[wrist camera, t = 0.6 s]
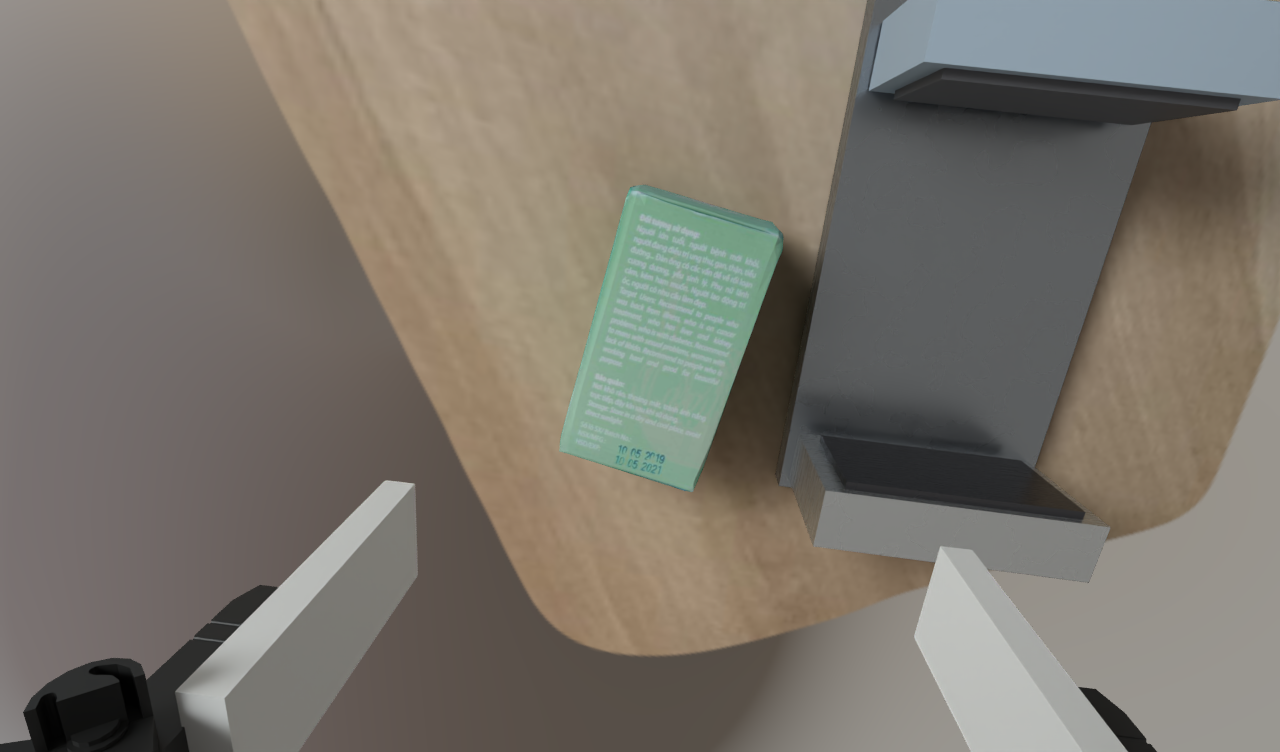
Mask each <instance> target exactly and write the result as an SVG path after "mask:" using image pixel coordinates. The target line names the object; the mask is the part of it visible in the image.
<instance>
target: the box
mask: <svg viewBox="0 0 1280 752" xmlns="http://www.w3.org/2000/svg"><path fill="white" fill-rule="evenodd" d="M782 250H783V234H782V233H781V232H780V231H779V230H778V228H777V227H776V226H775V225H774V224H773V223H772V222H769V221H765V220H761V219H758V218H754V217H751V216H748V215H744V214H741V213H738V212H734V211H731V210H728V209H724V208H721V207H718V206H714V205H711V204H708V203H704V202H701V201H698V200H694V199H691V198H688V197H684V196H681V195H678V194H675V193H671V192H668V191H664V190H661V189H658V188H654V187H651V186H648V185H639V186H633V187H630V190H629V192H628V195H627V198H626V201H625V204H624V208H623V211H622V215H621V219H620V222H619V226H618V230H617V233H616V237H615V241H614V244H613V248H612V252H611V255H610V259H609V263H608V266H607V270H606V274H605V277H604V281H603V284H602V288H601V292H600V296H599V299H598V303H597V307H596V310H595V314H594V318H593V321H592V325H591V329H590V332H589V336H588V340H587V343H586V347H585V351H584V354H583V358H582V362H581V365H580V369H579V372H578V376H577V380H576V383H575V387H574V390H573V394H572V397H571V401H570V405H569V408H568V412H567V416H566V419H565V423H564V427H563V431H562V434H561V440H560V450H559V451H561V452H564V453H567V454H570V455H574V456H577V457H580V458H583V459H586V460H589V461H593V462H596V463H599V464H602V465H605V466H608V467H612V468H615V469H618V470H621V471H624V472H627V473H631V474H634V475H637V476H640V477H643V478H647V479H650V480H653V481H656V482H659V483H662V484H666V485H669V486H672V487H675V488H678V489H681V490H684V491H689V492H693V490H694V488H695V486H696V483H697V481H698V479H699V476H700V474H701V472H702V470H703V467H704V464H705V462H706V459H707V456H708V453H709V450H710V447H711V445H712V442H713V439H714V436H715V433H716V431H717V428H718V425H719V422H720V419H721V417H722V414H723V411H724V408H725V405H726V403H727V400H728V397H729V394H730V391H731V389H732V386H733V383H734V380H735V377H736V374H737V372H738V369H739V366H740V363H741V360H742V358H743V355H744V352H745V349H746V346H747V344H748V341H749V338H750V336H751V333H752V330H753V327H754V324H755V322H756V319H757V316H758V313H759V310H760V308H761V305H762V302H763V299H764V296H765V294H766V291H767V288H768V286H769V283H770V280H771V277H772V275H773V272H774V269H775V267H776V264H777V262H778V259H779V257H780V255H781V253H782Z"/></svg>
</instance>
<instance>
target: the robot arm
mask: <svg viewBox="0 0 1280 752" xmlns="http://www.w3.org/2000/svg"><path fill="white" fill-rule="evenodd" d="M417 567H418V566H417V534H416V501H415V484H412V483H404V482H395V481H387V480H385V481H384V482H383V483H382V484H381V485H380V486H379V487H378V488H377V489H376V490H375V491H374V492H373V493H372V494H371V495H370V496H369V497H368V498H367V499H366V500H365V501H364V502H363V503H362V505H360V506H359V507H358V508H357V509H356V510H355V511H354V512H353V513H352V514H351V515H350V516H349V517H348V518H347V519H346V520H345V521H344V522H343V523H342V524H341V525H340V526H339V527H338V528H337V530H336V531H334V532H333V533H332V535H330V536H329V537H328V539H326V540H325V541H324V542H323V544H321V545H320V546H319V547H318V549H316V550H315V551H314V552H313V554H312V555H311V556H310V557H308V558H307V559H306V560H305V562H304V563H303V564H301V565H300V567H299V568H298V569H297V570H296V571H295V572H294V573H293V574H292V575H291V576H290V577H289V578H288V579H287V580H286V581H285V582H284V583H283V584H282V585H281V586H280V587H272V586H263V585H259V586H257V587H255V588H254V589H252V590H250V591H248V592H246V593H245V594H243V595H241V596H239V597H237V598H236V599H234V600H233V601H231V602H230V603H229V604H228V605H227V606H226V607H225V608H224V609H223V610H221V612H219V613H218V614H217V615H216V616H215V617H214V618H213V619H212V621H211V623H210V624H206V625H205V626H204V627H203V628H202V629H201V630H200V631H199V632H198V633H197V634H196V635H195V636H194V639H193V640H189V641H188V642H187V643H186V644H185V645H184V646H183V647H182V648H181V649H180V650H178V651H177V652H176V653H175V654H174V655H173V656H172V657H171V658H170V659H169V660H168V661H167V662H166V663H165V664H163V665H162V666H161V667H160V668H159V669H158V670H157V671H156V672H155V673H154V674H153V675H152V676H150V678H148V679H147V680H146V678H145V674H144V671H143V668H142V666H141V664H139V663H137V662H135V661H133V660H131V659H123V658H121V659H120V658H110V659H105V660H101V661H96V662H91V663H88V664H85V665H83V666H80V667H78V668H75V669H73V670H70V671H68V672H66V673H64V674H63V675H61V676H59V677H58V678H56V679H54V680H53V681H51V682H49V683H47V684H46V685H45V686H44V687H43V688H42V689H41V690H40V691H39V692H38V693H36V694H35V695H34V696H33V697H32V698H31V700H30V702H29V703H28V705H27V707H26V709H25V710H24V712H23V713H24V717H25V720H26V723H27V726H28V730H29V733H30V736H31V740H25V741H18V742H11V743H4V744H0V752H299V750H300V749H301V747H302V746H303V744H304V743H305V741H306V740H307V738H308V737H309V735H310V734H311V732H312V731H313V729H314V728H315V726H316V725H317V724H318V722H319V720H320V719H321V718H322V716H323V715H324V713H325V712H326V710H327V709H328V707H329V706H330V704H331V703H332V701H333V700H334V698H335V697H336V695H337V694H338V692H339V691H340V689H341V688H342V687H343V685H344V684H345V682H346V681H347V679H348V678H349V676H350V675H351V673H352V672H353V670H354V669H355V667H356V666H357V664H358V663H359V661H360V660H361V658H362V657H363V656H364V654H365V653H366V651H367V650H368V648H369V646H370V645H371V644H372V642H373V641H374V639H375V638H376V636H377V635H378V633H379V632H380V630H381V629H382V627H383V626H384V624H385V623H386V622H387V620H388V618H389V617H390V615H391V614H392V613H393V611H394V610H395V608H396V607H397V605H398V604H399V602H400V601H401V599H402V598H403V596H404V595H405V593H406V592H407V590H408V589H409V587H410V586H411V585H412V583H413V582H414V580H415V579H416V577H417V576H418V568H417ZM914 638H915V640H916V642H917V644H918V646H919V648H920V650H921V652H922V654H923V657H924V658H925V660H926V663H927V665H928V667H929V668H930V671H931V673H932V675H933V677H934V679H935V681H936V683H937V685H938V687H939V688H940V690H941V693H942V695H943V697H944V699H945V701H946V702H947V705H948V707H949V709H950V711H951V713H952V715H953V717H954V719H955V721H956V723H957V725H958V727H959V729H960V731H961V733H962V735H963V737H964V739H965V741H966V743H967V745H968V747H969V749H970V751H971V752H1157V751H1156V750H1155V749H1154V748H1153V747H1152V745H1151V744H1147V743H1146V738H1145V737H1144V736H1143V734H1142V733H1141V732H1140V731H1139V730H1138V728H1137V727H1136V726H1135V725H1134V723H1133V722H1132V721H1131V720H1130V719H1129V717H1128V716H1127V715H1126V714H1125V713H1124V712H1123V711H1122V710H1121V709H1119V708H1118V707H1117V706H1116V705H1114V704H1113V703H1112V702H1111V701H1110V700H1108V699H1107V698H1106V697H1105V696H1103V695H1102V694H1101V693H1100V692H1098V691H1097V690H1096V689H1090V688H1082V687H1077V685H1076V684H1075V683H1074V681H1073V680H1072V679H1071V677H1070V676H1069V675H1068V673H1067V672H1066V671H1065V670H1064V668H1063V667H1062V666H1061V664H1060V663H1059V662H1058V660H1057V659H1056V658H1055V657H1054V655H1053V654H1052V653H1051V651H1050V650H1049V649H1048V648H1047V646H1046V645H1045V644H1044V643H1043V641H1042V640H1041V639H1040V637H1039V636H1038V635H1037V633H1036V632H1035V631H1034V629H1033V628H1032V627H1031V626H1030V624H1029V623H1028V622H1027V620H1026V619H1025V618H1024V616H1023V615H1022V614H1021V613H1020V611H1019V610H1018V609H1017V607H1016V606H1015V605H1014V604H1013V602H1012V601H1011V600H1010V598H1009V597H1008V596H1007V594H1006V593H1005V592H1004V591H1003V589H1002V588H1001V587H1000V585H999V584H998V583H997V582H996V580H995V579H994V578H993V576H992V575H991V574H990V572H989V571H988V570H987V568H986V567H985V566H984V565H983V563H982V562H981V561H980V559H979V558H978V557H977V555H976V554H975V553H974V552H973V550H969V549H961V548H952V547H944V546H940V549H939V552H938V556H937V559H936V563H935V566H934V570H933V573H932V576H931V580H930V583H929V587H928V591H927V594H926V597H925V601H924V604H923V607H922V611H921V614H920V618H919V621H918V625H917V628H916V632H915V635H914Z"/></svg>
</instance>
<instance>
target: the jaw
mask: <svg viewBox="0 0 1280 752" xmlns="http://www.w3.org/2000/svg"><path fill="white" fill-rule="evenodd" d="M869 91H874V92H883V93H893V94H894V98H893V100H899V101H909V102H918V103H927V104H937V105H946V106H955V107H965V108H974V109H984V110H993V111H1002V112H1012V113H1021V114H1030V115H1040V116H1049V117H1059V118H1068V119H1077V120H1087V121H1096V122H1105V123H1115V124H1124V125H1137V124H1144V123H1151V122H1158V121H1165V120H1172V119H1179V118H1186V117H1193V116H1200V115H1207V114H1214V113H1221V112H1228V111H1235V110H1237V109H1238V106H1242V105H1249V104H1255V103H1262V102H1269V101H1275V100H1280V2H1278V1H1267V0H907V1H906V2H905V3H904V4H902V5H901V6H900V7H899V8H898V9H897V10H895V11H894V12H893V13H892V14H891V15H889V16H888V17H887V18H886V19H885V20H883V23H882V28H881V33H880V38H879V43H878V48H877V53H876V58H875V63H874V68H873V72H872V77H871V82H870V87H869Z"/></svg>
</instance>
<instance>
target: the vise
mask: <svg viewBox="0 0 1280 752" xmlns="http://www.w3.org/2000/svg"><path fill="white" fill-rule="evenodd" d="M906 1H907V0H868V1H867V6H866V11H865V16H864V21H863V26H862V31H861V37H860V42H859V47H858V52H857V57H856V62H855V67H854V72H853V78H852V83H851V88H850V93H849V98H848V103H847V108H846V114H845V119H844V124H843V129H842V134H841V139H840V144H839V150H838V155H837V160H836V165H835V170H834V175H833V180H832V185H831V191H830V196H829V201H828V206H827V211H826V216H825V221H824V227H823V232H822V237H821V242H820V247H819V252H818V257H817V263H816V268H815V273H814V278H813V283H812V288H811V293H810V299H809V304H808V309H807V314H806V319H805V324H804V329H803V334H802V340H801V345H800V350H799V355H798V360H797V365H796V370H795V376H794V381H793V386H792V391H791V396H790V401H789V406H788V412H787V417H786V422H785V427H784V432H783V437H782V442H781V447H780V453H779V458H778V463H777V468H776V473H775V475H776V478H777V481H778V484H779V486H785V487H792V489H793V492H794V495H795V497H796V500H797V503H798V506H799V508H800V511H801V514H802V517H803V520H804V522H805V525H806V528H807V531H808V533H809V536H810V539H811V542H812V544H813V546H815V547H823V548H830V549H838V550H845V551H853V552H860V553H868V554H876V555H883V556H891V557H898V558H906V559H913V560H921V561H928V562H936V559H937V556H938V552H939V549H940V546H944V547H952V548H961V549H969V550H973V552H974V553H975V554H976V555H977V557H978V558H979V559H980V561H981V562H982V563H983V565H984V566H985V567H986V568H987V569H989V570H997V571H1004V572H1012V573H1019V574H1027V575H1034V576H1042V577H1049V578H1057V579H1065V580H1072V581H1080V582H1087V583H1089V581H1090V578H1091V576H1092V574H1093V571H1094V568H1095V566H1096V563H1097V561H1098V558H1099V556H1100V553H1101V550H1102V548H1103V545H1104V543H1105V540H1106V538H1107V535H1108V533H1109V530H1110V528H1111V527H1110V526H1108V525H1107V524H1106V523H1105V522H1103V521H1102V520H1101V519H1099V518H1098V517H1097V516H1096V515H1094V514H1093V513H1092V512H1091V511H1089V510H1088V509H1087V508H1086V507H1084V506H1083V505H1082V504H1081V503H1079V502H1078V501H1077V500H1075V499H1074V498H1073V497H1072V496H1070V495H1069V494H1068V493H1067V492H1065V491H1064V490H1063V489H1062V488H1060V487H1059V486H1058V485H1057V484H1055V483H1054V482H1053V481H1051V480H1050V479H1049V478H1048V477H1046V476H1045V475H1044V474H1043V473H1041V472H1040V471H1039V470H1038V469H1036V468H1035V465H1036V462H1037V459H1038V456H1039V453H1040V450H1041V447H1042V444H1043V441H1044V438H1045V435H1046V432H1047V429H1048V427H1049V424H1050V421H1051V418H1052V415H1053V412H1054V409H1055V406H1056V403H1057V400H1058V397H1059V394H1060V391H1061V388H1062V385H1063V382H1064V379H1065V376H1066V373H1067V370H1068V367H1069V364H1070V361H1071V358H1072V356H1073V353H1074V350H1075V347H1076V344H1077V341H1078V338H1079V335H1080V332H1081V329H1082V326H1083V323H1084V320H1085V317H1086V314H1087V311H1088V308H1089V305H1090V302H1091V299H1092V296H1093V293H1094V290H1095V287H1096V285H1097V282H1098V279H1099V276H1100V273H1101V270H1102V267H1103V264H1104V261H1105V258H1106V255H1107V252H1108V249H1109V246H1110V243H1111V240H1112V237H1113V234H1114V231H1115V228H1116V225H1117V222H1118V219H1119V217H1120V214H1121V211H1122V208H1123V205H1124V202H1125V199H1126V196H1127V193H1128V190H1129V187H1130V184H1131V181H1132V178H1133V175H1134V172H1135V169H1136V166H1137V163H1138V160H1139V157H1140V154H1141V151H1142V148H1143V146H1144V143H1145V140H1146V137H1147V134H1148V131H1149V128H1150V125H1151V123H1144V124H1137V125H1124V124H1115V123H1105V122H1096V121H1087V120H1077V119H1068V118H1059V117H1049V116H1040V115H1030V114H1021V113H1012V112H1002V111H993V110H984V109H974V108H965V107H955V106H946V105H937V104H927V103H918V102H909V101H899V100H893V98H894V94H893V93H883V92H874V91H869V87H870V82H871V77H872V72H873V68H874V63H875V58H876V53H877V48H878V43H879V38H880V33H881V28H882V23H883V20H885V19H886V18H887V17H888V16H889V15H891V14H892V13H893V12H894V11H895V10H897V9H898V8H899V7H900V6H901V5H902V4H904V3H905V2H906Z"/></svg>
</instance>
